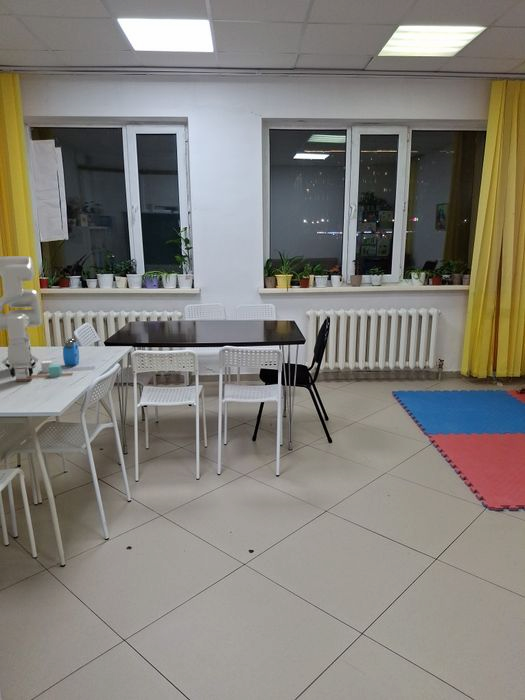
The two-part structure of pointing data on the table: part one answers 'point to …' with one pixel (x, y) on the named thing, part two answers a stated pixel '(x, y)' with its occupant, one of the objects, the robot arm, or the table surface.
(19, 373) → the walnut strip
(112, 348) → the table surface
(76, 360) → the alarm clock
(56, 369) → the teal cube
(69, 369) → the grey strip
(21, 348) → the robot arm
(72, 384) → the table surface
